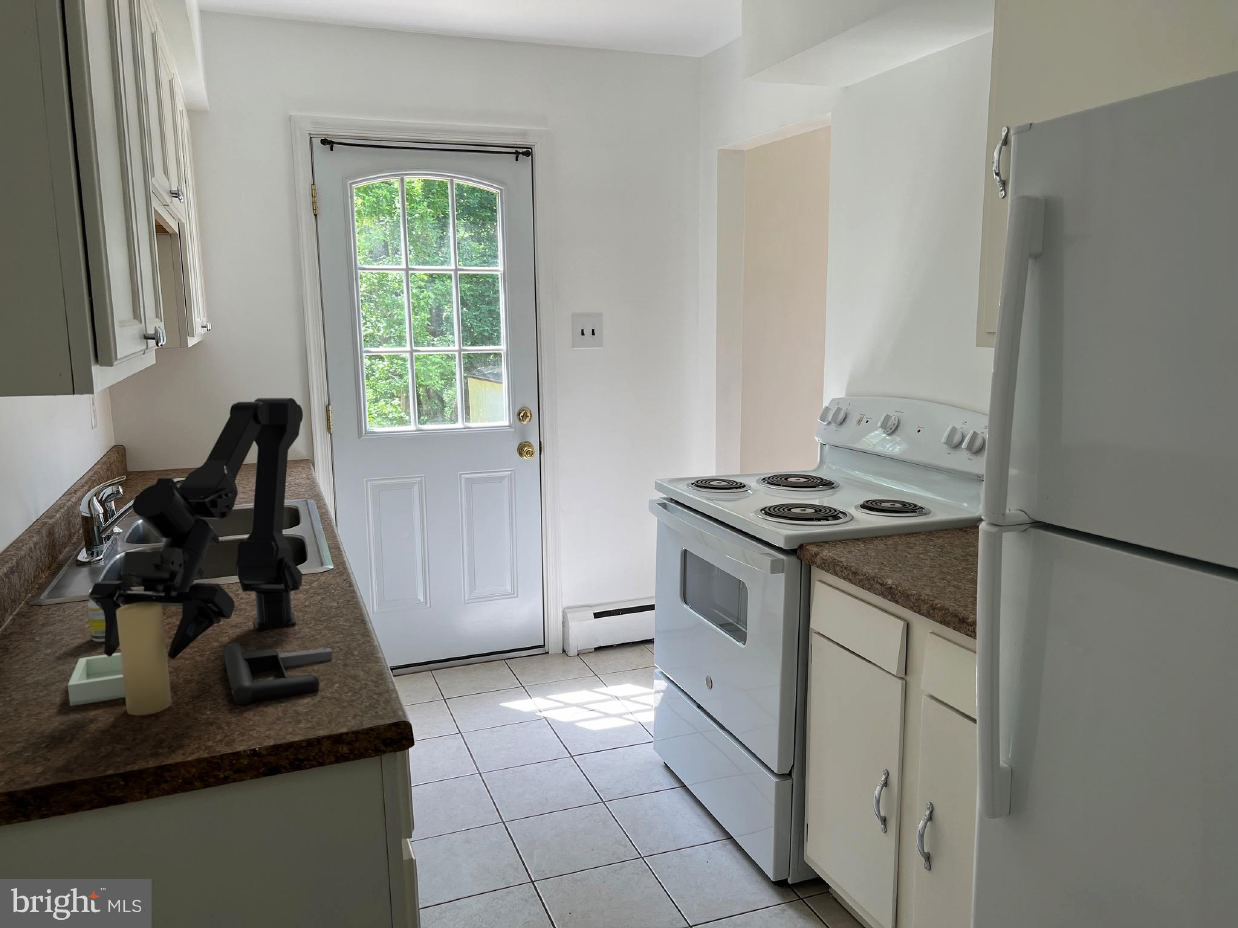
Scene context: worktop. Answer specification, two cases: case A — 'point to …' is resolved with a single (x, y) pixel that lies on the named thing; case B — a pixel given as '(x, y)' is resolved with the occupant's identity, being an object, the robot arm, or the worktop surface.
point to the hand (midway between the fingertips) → (138, 656)
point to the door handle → (265, 661)
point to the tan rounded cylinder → (144, 658)
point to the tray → (97, 680)
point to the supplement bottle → (96, 621)
